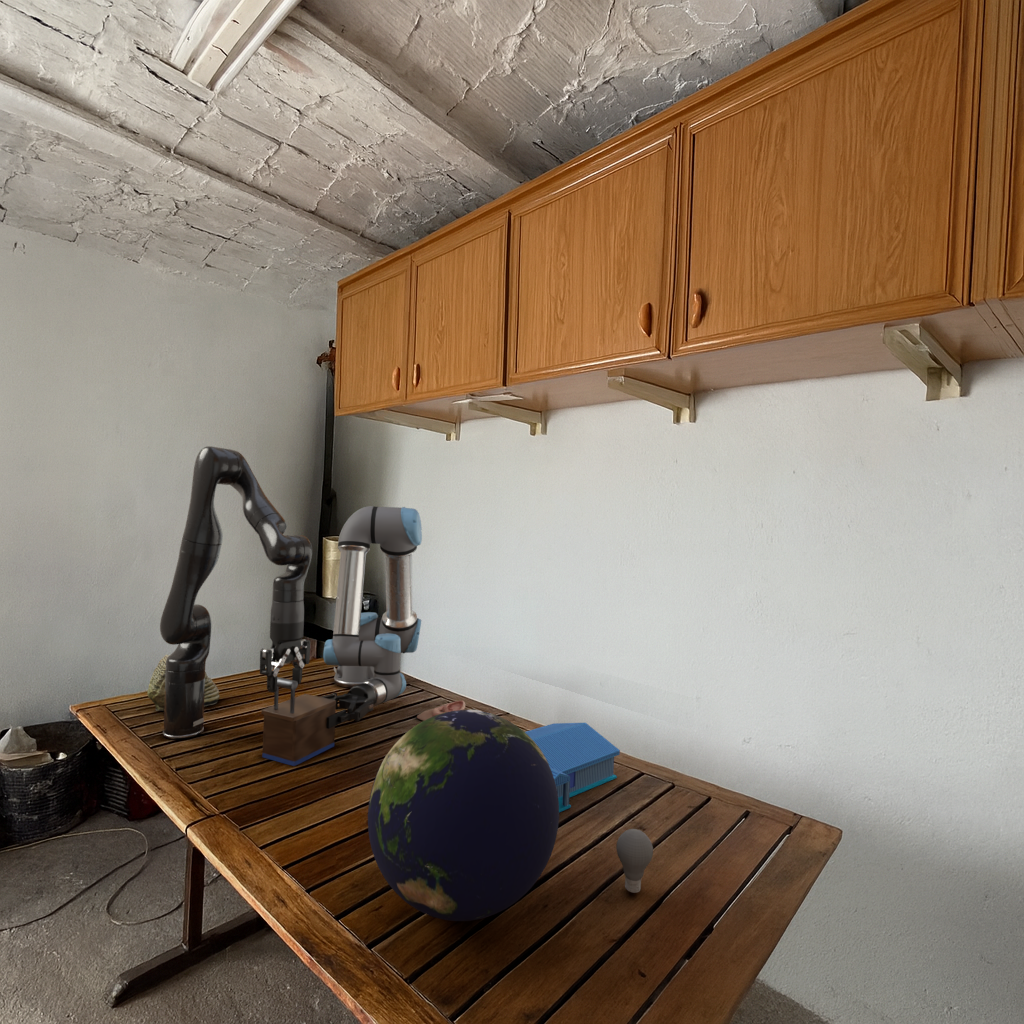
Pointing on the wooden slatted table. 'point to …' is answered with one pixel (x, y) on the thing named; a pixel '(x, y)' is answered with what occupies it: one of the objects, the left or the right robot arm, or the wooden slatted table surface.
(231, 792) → the wooden slatted table surface
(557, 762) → the model building
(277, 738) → the chest
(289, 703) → the lid
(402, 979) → the wooden slatted table surface
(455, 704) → the anatomical model
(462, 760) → the globe
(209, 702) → the fossil
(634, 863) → the light bulb
